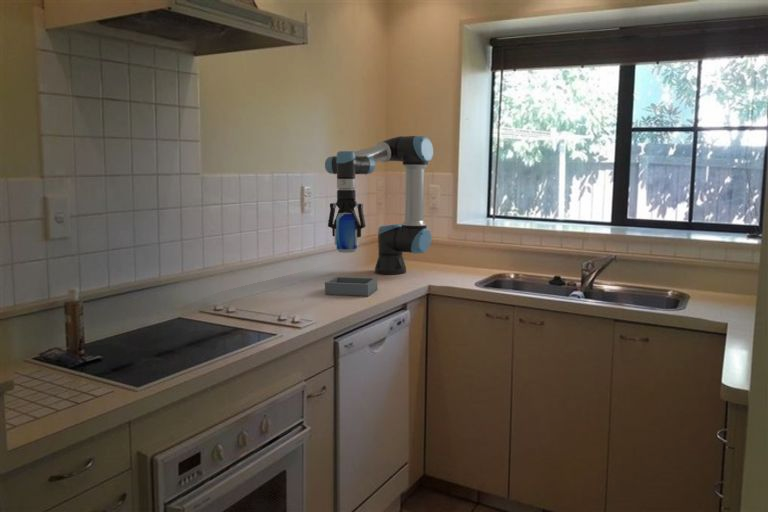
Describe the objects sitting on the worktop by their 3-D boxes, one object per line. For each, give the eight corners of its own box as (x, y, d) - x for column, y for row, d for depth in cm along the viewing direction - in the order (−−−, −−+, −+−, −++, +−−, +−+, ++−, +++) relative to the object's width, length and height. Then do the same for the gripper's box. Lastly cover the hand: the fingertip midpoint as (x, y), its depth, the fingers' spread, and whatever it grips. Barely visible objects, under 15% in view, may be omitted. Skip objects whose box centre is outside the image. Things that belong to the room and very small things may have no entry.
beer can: (340, 253, 266) (339, 213, 264) (333, 250, 274) (333, 212, 271) (359, 252, 269) (359, 213, 267) (352, 249, 277) (352, 211, 275)
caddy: (336, 288, 281) (336, 276, 281) (377, 289, 277) (377, 278, 276) (325, 294, 268) (324, 282, 267) (367, 296, 263) (367, 284, 263)
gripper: (318, 189, 267) (319, 245, 270) (368, 190, 261) (368, 246, 265) (325, 188, 274) (326, 242, 278) (373, 189, 268) (373, 244, 272)
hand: (346, 244), depth 271 cm, fingers closed on beer can, 8 cm apart
